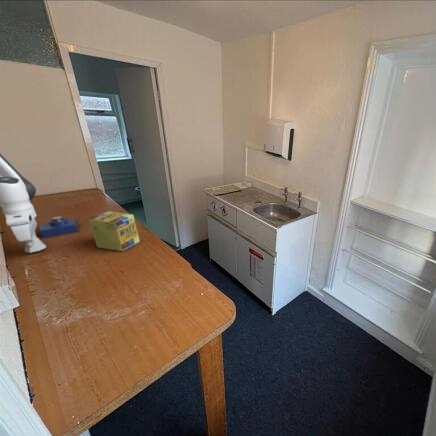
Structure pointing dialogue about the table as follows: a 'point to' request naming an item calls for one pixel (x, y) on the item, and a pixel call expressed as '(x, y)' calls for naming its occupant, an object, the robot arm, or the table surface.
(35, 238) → the flask
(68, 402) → the table surface
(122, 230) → the protein box
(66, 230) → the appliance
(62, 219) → the button
